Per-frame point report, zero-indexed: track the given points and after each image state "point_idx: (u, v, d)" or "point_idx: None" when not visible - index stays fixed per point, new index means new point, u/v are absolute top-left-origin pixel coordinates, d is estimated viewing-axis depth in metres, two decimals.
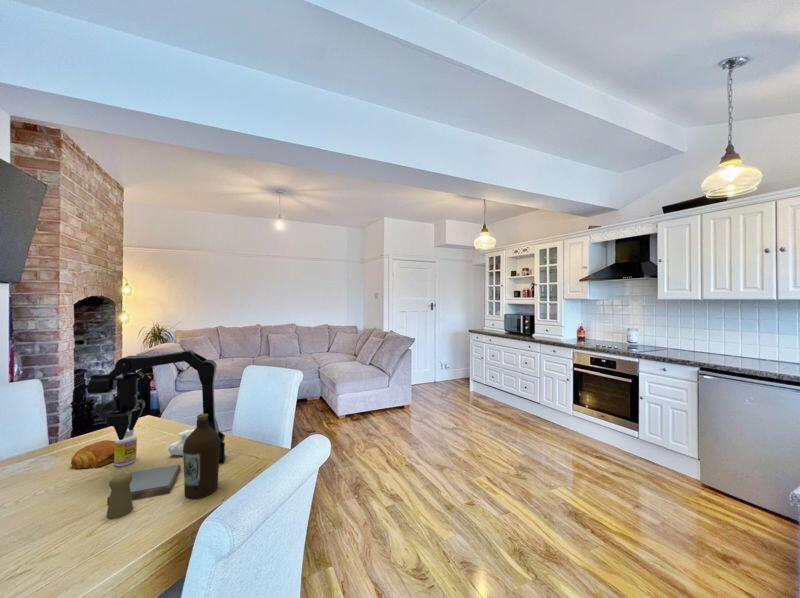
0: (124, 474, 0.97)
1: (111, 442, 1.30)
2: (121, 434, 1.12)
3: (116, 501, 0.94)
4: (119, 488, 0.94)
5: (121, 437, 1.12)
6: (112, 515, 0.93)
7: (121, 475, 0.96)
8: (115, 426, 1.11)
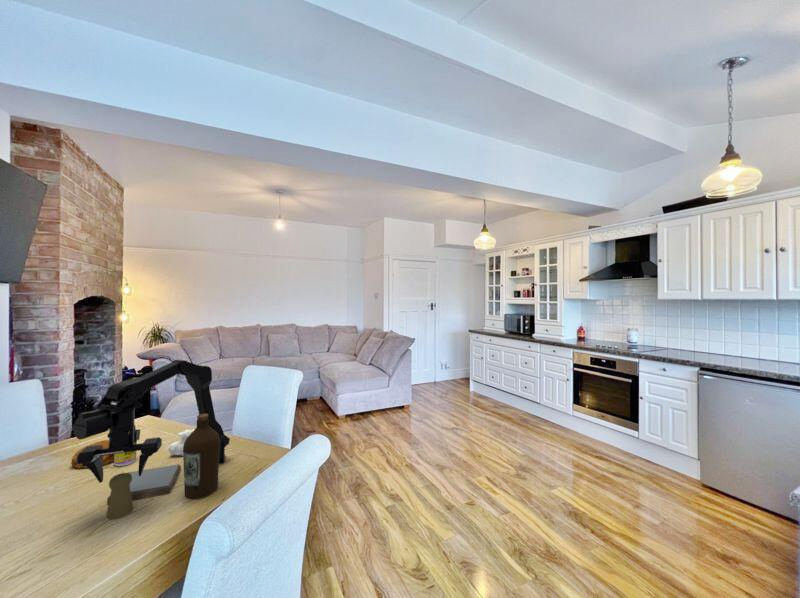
0: (124, 474, 0.97)
1: None
2: None
3: (117, 501, 0.94)
4: (119, 488, 0.94)
5: None
6: (112, 515, 0.93)
7: (121, 475, 0.96)
8: None
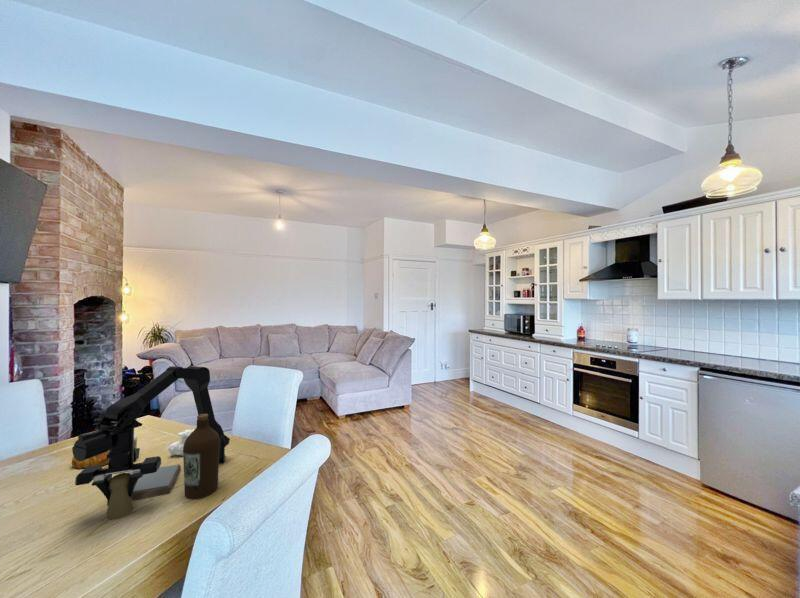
0: (124, 474, 0.97)
1: None
2: None
3: (117, 501, 0.94)
4: (119, 488, 0.94)
5: None
6: (112, 515, 0.93)
7: (121, 475, 0.96)
8: None
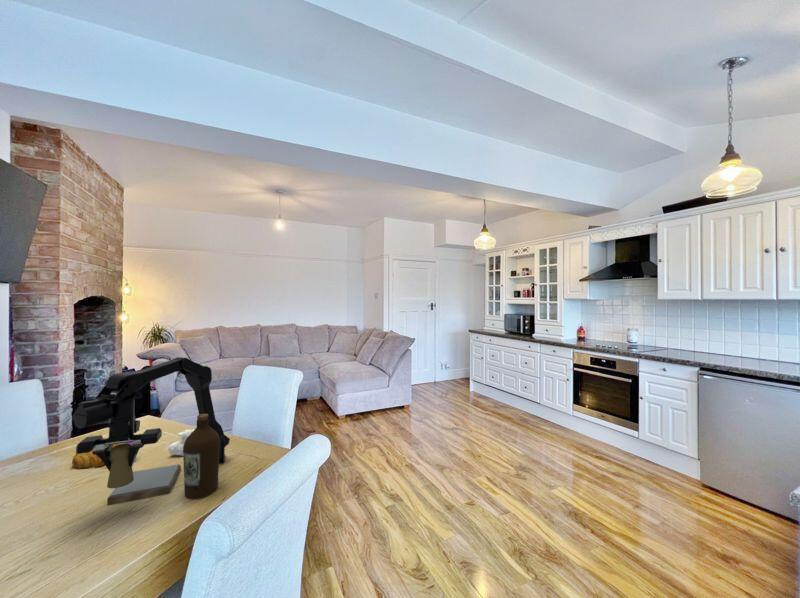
0: (125, 444, 0.97)
1: None
2: None
3: (117, 471, 0.94)
4: (120, 458, 0.95)
5: None
6: (113, 484, 0.93)
7: (122, 445, 0.96)
8: None
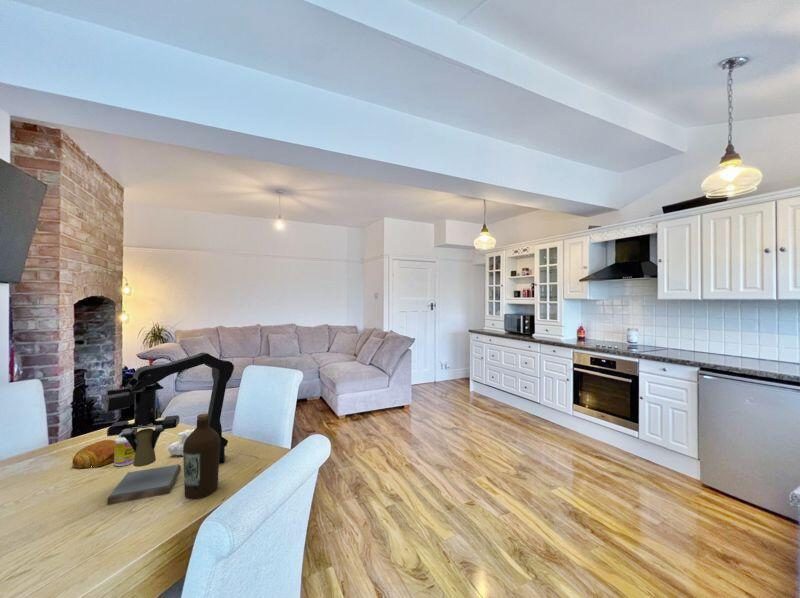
0: (148, 429, 1.11)
1: (112, 442, 1.31)
2: None
3: (142, 452, 1.08)
4: (144, 440, 1.08)
5: None
6: (138, 463, 1.07)
7: (145, 430, 1.10)
8: None
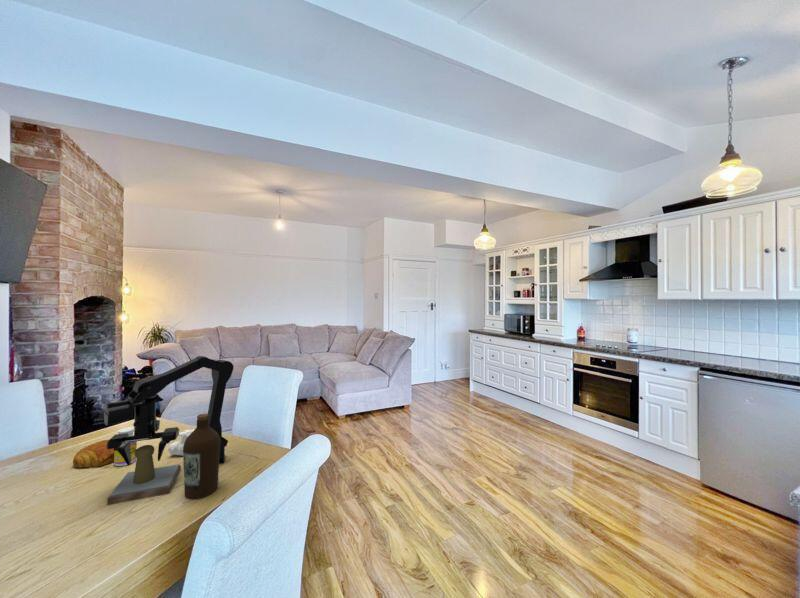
0: (148, 446, 1.11)
1: None
2: None
3: (142, 469, 1.08)
4: (144, 457, 1.08)
5: None
6: (138, 480, 1.07)
7: (145, 446, 1.10)
8: None
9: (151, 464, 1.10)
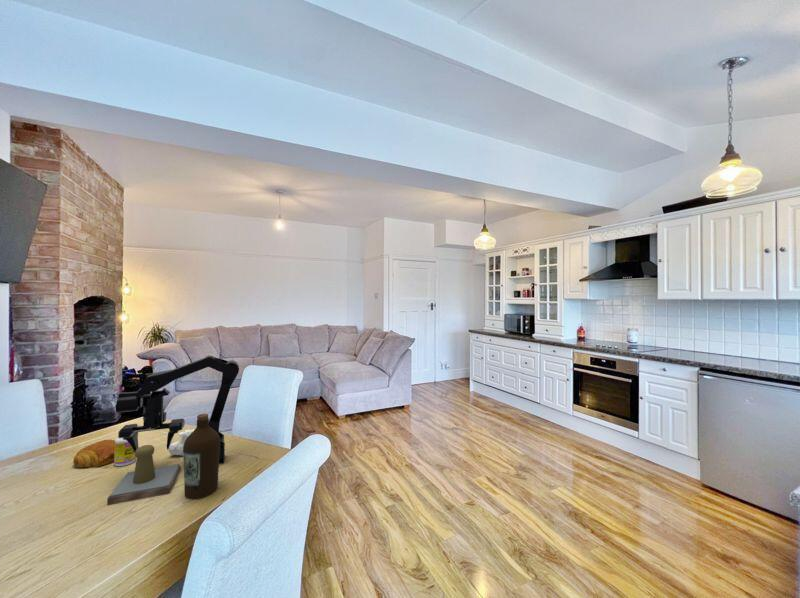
0: (148, 446, 1.11)
1: (113, 441, 1.31)
2: None
3: (142, 469, 1.08)
4: (144, 457, 1.08)
5: None
6: (138, 480, 1.07)
7: (145, 446, 1.10)
8: None
9: (151, 464, 1.10)
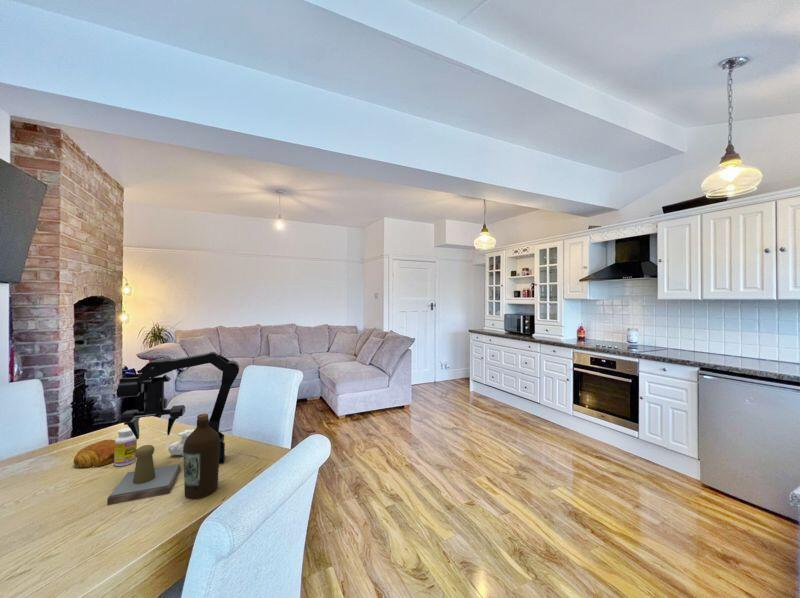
0: (148, 446, 1.11)
1: (113, 441, 1.31)
2: None
3: (142, 469, 1.08)
4: (144, 457, 1.08)
5: None
6: (138, 480, 1.07)
7: (145, 446, 1.10)
8: None
9: (151, 464, 1.10)
